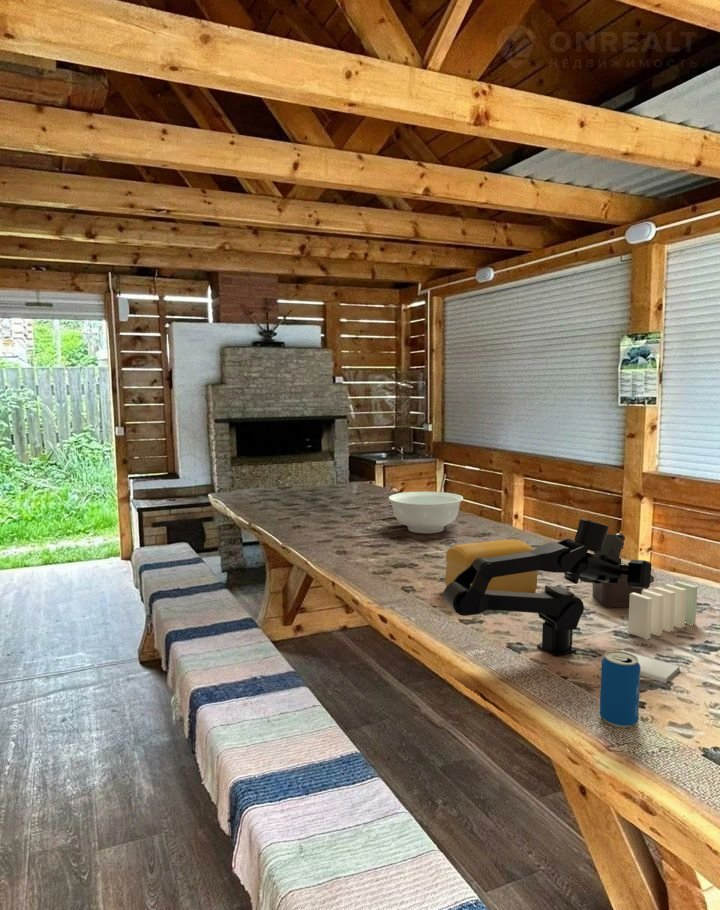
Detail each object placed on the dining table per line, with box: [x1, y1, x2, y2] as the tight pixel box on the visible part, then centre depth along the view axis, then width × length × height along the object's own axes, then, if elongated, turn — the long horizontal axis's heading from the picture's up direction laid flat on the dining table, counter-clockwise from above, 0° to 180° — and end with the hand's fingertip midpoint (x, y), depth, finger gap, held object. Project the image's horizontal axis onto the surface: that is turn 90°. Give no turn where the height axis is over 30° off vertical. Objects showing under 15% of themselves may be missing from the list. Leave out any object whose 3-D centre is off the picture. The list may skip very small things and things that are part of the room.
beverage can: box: [599, 650, 641, 729], centre depth 112 cm, size 6×6×12 cm
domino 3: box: [652, 586, 675, 633], centre depth 156 cm, size 2×5×10 cm, turn 29°
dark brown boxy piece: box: [591, 533, 644, 609], centre depth 177 cm, size 16×11×18 cm
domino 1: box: [627, 592, 652, 640], centre depth 151 cm, size 2×5×10 cm, turn 29°
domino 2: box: [642, 589, 664, 637], centre depth 154 cm, size 2×5×10 cm, turn 29°
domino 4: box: [663, 583, 687, 629], centre depth 158 cm, size 2×5×10 cm, turn 29°
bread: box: [445, 539, 538, 593], centre depth 185 cm, size 24×13×15 cm, turn 109°
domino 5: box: [674, 580, 698, 626], centre depth 160 cm, size 2×5×10 cm, turn 29°
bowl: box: [388, 491, 464, 534], centre depth 268 cm, size 32×32×15 cm
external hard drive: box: [620, 649, 681, 684], centre depth 134 cm, size 2×8×12 cm
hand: (636, 577), depth 151 cm, fingers open, 9 cm apart
